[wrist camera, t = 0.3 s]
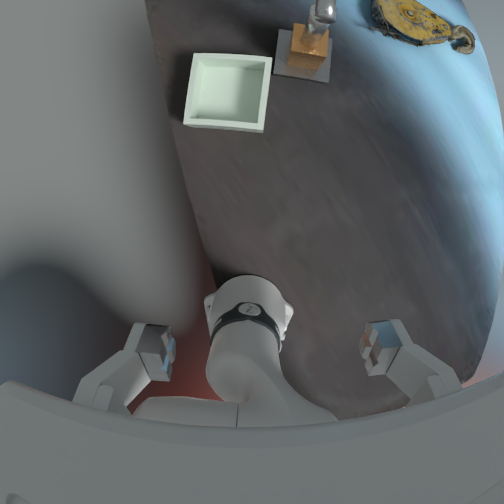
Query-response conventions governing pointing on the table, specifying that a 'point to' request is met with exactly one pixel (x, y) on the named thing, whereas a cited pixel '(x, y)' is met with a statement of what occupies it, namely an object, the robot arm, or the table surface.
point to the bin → (228, 92)
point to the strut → (312, 36)
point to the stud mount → (294, 71)
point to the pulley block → (417, 24)
